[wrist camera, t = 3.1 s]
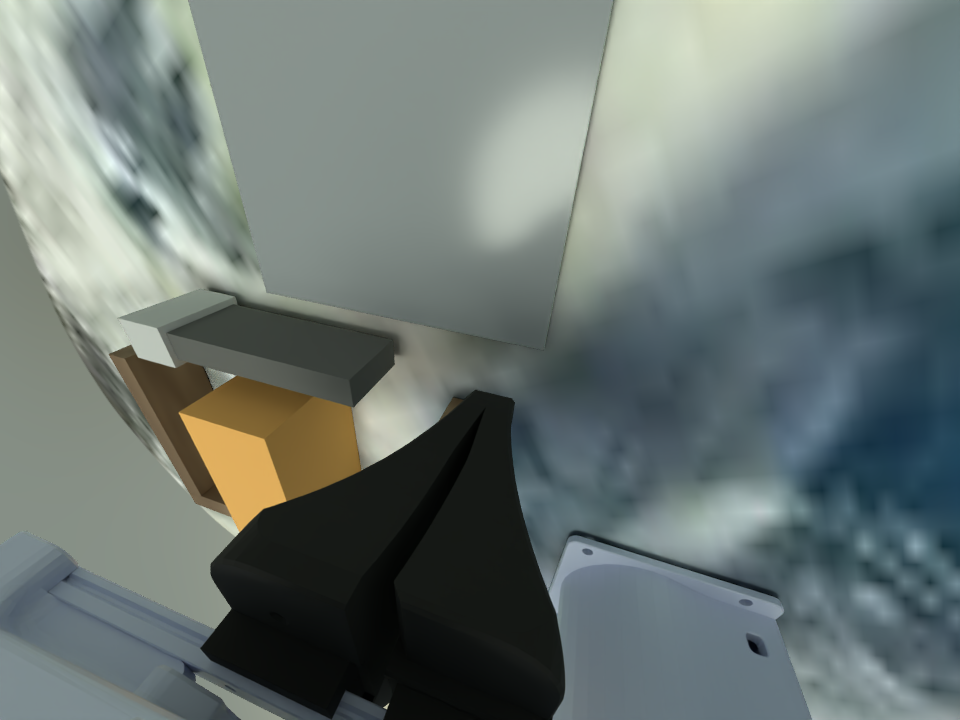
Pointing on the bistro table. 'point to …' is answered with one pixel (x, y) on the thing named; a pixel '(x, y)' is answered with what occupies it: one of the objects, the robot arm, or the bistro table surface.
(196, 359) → the gray rectangular bar
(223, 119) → the slate tile
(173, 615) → the robot arm
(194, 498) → the walnut cradle
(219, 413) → the tall tan rectangular prism
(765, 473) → the bistro table surface
